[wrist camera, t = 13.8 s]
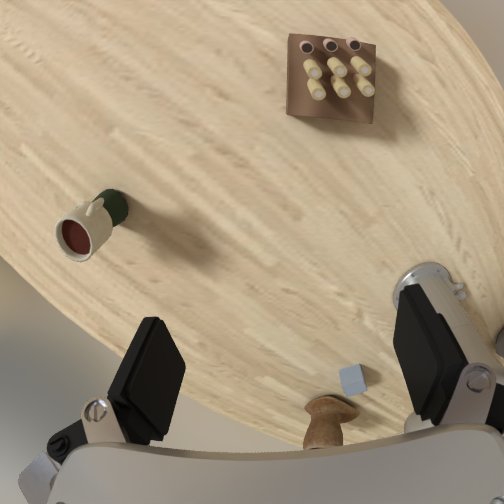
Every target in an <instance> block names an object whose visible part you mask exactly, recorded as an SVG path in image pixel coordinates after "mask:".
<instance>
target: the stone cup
mask: <svg viewBox="0 0 504 504" xmlns="http://www.w3.org/2000/svg"><path fill="white" fill-rule="evenodd" d="M305 410H306V411H307V412H308V413H309V414H310V415H311V422H310V425H309V427H308V429H307V432H306V435H305V438H304V442H303V448H304V450H311V449H321V448H329V447H337V446H343V433H342V430H341V426H340V423H346V422H349V421H351V420H353V419H355V418H356V417H357V416H358V415H359V413H360V412H359V411H358V410H356V409H355V408H353V407H351V406H350V405H348V404H346V403H345V402H343V401H341V400H339V399H337V398H335V397H331V396H323V397H320V398H317V399H314V400H312V401H311V402H309V403H308V404H307V405H306V406H305Z"/></svg>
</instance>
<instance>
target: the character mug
mask: <svg viewBox="0 0 504 504" xmlns="http://www.w3.org/2000/svg"><path fill="white" fill-rule="evenodd" d="M127 215H128V205H127V203H126V200H125V199H124V197H123V196H122V195H121V194H120V193H119V192H117V191H116V190H114V189H106V190H105V191H103V192H102V193H100V194H99V195H98V196H97V197H96V198H95V199H94V200H93V201H92V202H87V201H85V202H82V203H81V204H79V205H78V206H77V207H76V208H75V209H73V210H71V211H69V212H67V213H66V214H65V215H64V216H63V217H61V218H60V219H59V220H58V221H57V223H56V225H55V229H54V234H55V239H56V242H57V244H58V246H59V248H60V250H61V251H62V252H63V253H64V254H65V255H66V257H68V258H70V259H71V260H73V261H77V262H83V261H87V260H88V259H89V258H90V257H91V256H92V255H93V254H94V253H95V252H96V251H97V250H98V249H99V248H100V247H101V246H102V245H103V244H104V243H105V242H106V241H107V239H108V238H109V237H110V236H111V233H112V229H113V227H115V226H117V225H118V224H120V223H121V222H122V221H124V220H125V218H126V216H127Z"/></svg>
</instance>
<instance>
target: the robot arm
mask: <svg viewBox="0 0 504 504" xmlns="http://www.w3.org/2000/svg"><path fill="white" fill-rule="evenodd" d="M461 289H463V283H462V282H460V283H456V284H453V283H451V282H450V276H449V274H448V272H447V270H446V269H445V268H444V267H443V266H442V265H440V264H438V263H434V262H428V263H423V264H420V265H417V266H415V267H414V268H412V269H410V270H409V271H408V272H407V273H406V274H405V275H404V276H403V277H402V278H401V279H400V280H399V282H398V284H397V285H396V287H395V290H394V294H393V302H394V306H395V308H396V310H397V318H396V325H395V331H394V338H393V345H394V349H395V352H396V355H397V357H398V360H399V363H400V366H401V369H402V372H403V375H404V378H405V381H406V384H407V388H408V391H409V394H410V397H411V401H412V404H413V407H414V412H413V413H411V414H410V415H409V416H408V418H407V419H406V421H405V424H404V434H401V435H397V436H392V437H387V438H382V439H377V440H372V441H367V442H362V443H356V444H350V445H344V446H337V447H329V448H321V449H311V450H301V451H288V452H267V453H265V452H264V453H228V452H205V451H190V450H179V449H170V448H162V447H153V446H150V445H149V444H150V440H155V441H163V437H164V435H166V434H167V433H168V430H169V426H170V423H171V419H172V415H173V412H174V408H175V404H176V401H177V397H178V394H179V390H180V387H181V383H182V380H183V376H184V373H185V369H186V366H185V362H184V360H183V358H182V356H181V354H180V352H179V350H178V349H177V347H176V345H175V343H174V341H173V339H172V337H171V335H170V333H169V331H168V329H167V327H166V325H165V323H164V321H163V320H160V318H159V317H145V318H144V319H143V320H142V322H141V324H140V326H139V328H138V330H137V332H136V334H135V336H134V338H133V340H132V342H131V344H130V346H129V348H128V350H127V352H126V354H125V356H124V358H123V361H122V363H121V365H120V367H119V369H118V371H117V373H116V375H115V378H114V380H113V382H112V384H111V386H110V389H109V391H108V396H107V398H105V397H101V396H100V397H95V398H92V399H90V400H89V401H88V402H87V403H86V404H85V405H84V407H83V408H82V412H81V418H82V419H80V420H79V421H77V422H75V423H73V424H72V425H70V426H68V427H66V428H65V429H63V430H61V431H59V432H58V433H56V434H55V435H53V436H52V437H51V438H50V439H49V442H48V444H47V452H45V451H43V452H42V453H41V454H40V455H39V456H38V457H37V458H36V459H35V460H34V461H33V462H32V463H31V464H30V465H29V466H27V468H25V469H24V470H23V471H22V472H21V474H20V476H19V479H18V484H19V487H20V489H21V491H22V493H23V495H24V496H25V498H26V500H27V502H28V503H29V504H504V367H503V366H502V365H501V364H500V362H499V361H498V360H497V359H496V357H495V356H494V355H493V353H492V352H491V351H490V349H489V347H488V346H487V344H486V343H485V341H484V340H483V338H482V337H481V335H480V333H479V332H478V330H477V328H476V327H475V325H474V324H473V322H472V321H471V319H470V317H469V316H468V314H467V313H466V311H465V310H464V308H463V307H462V305H461V304H460V302H459V301H461V300H465V299H466V292H465V291H464V290H462V291H458V292H456V293H454V291H455V290H461Z"/></svg>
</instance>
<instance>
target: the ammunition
mask: <svg viewBox="0 0 504 504" xmlns="http://www.w3.org/2000/svg"><path fill="white" fill-rule="evenodd" d="M346 44H347V46H348V47H349V48H350V49H351V50H354V51H357V50H359V49H360V48H361V43H360V42H359V41H358V40H356V39H355V38H347V39H346ZM323 45H324V47H325V48H326V49H327V50H328V51H330V52H334V51H336V50H337V48H338V45H337V43H336V42H335V41H334V40H332V39H329V38H327V39H325V40H324V41H323ZM299 47H300V49H301V50H302V52H303V53H306V54H309V53H311V52H312V51H313V49H314V47H313V45H312V44H311V43H310V42H309V41H302V42H301V43H300V45H299ZM350 63H351V65H352V66H353V67H354V68H355V69H356V71H357V72H358V73H359V74H355V75H354V76H353V80H354V83H355V85H356V86H357V87H358V89H359V90H360V91H361V93H362V94H363V95H364V96H366V97H370V96H372V95H373V94H374V93H375V88H374V86H373V85H372V84H371V83H370V82H369V81H368V80H367V79H366V78H365V77H364V76H368V75H370V74H371V71H372V69H371V66H370V65H368V64H367V63H366V62H365V61H364V60H363V59H362V58H360V57H358V56H355V57H353V58H352V59H351V61H350ZM327 65H328V66H329V68H330V69H331V71H332V72H333V73H334V75H333V76H332V77H331V85H332V86H333V88H334V90H335V91H336V93H337V95H338V96H339V97H341V98H347V97H349V96H350V94H351V89H350V88H349V86H348V85H347V84H346V83H345V81H344V80H343V79H342V78H341V77H344V76H346V74H347V68H346V67H345V66H344V65H343V63H342V62H341V61H340V60H339V59H337V58H335V57H332V58H330V59H329V60H328V61H327ZM303 66H304V69H305V71H306V73H307V75H308V76H309V78H310V79H309V80H308V82H307V86H308V89H309V91H310V93H311V96H312V97H313V99H315V100H322V99H324V98H325V96H326V92H325V90H324V88H323V86H322V85H321V83H320V81H319V80H318V79H319V78H320V77H321V76H322V70H321V69H320V67H319V66H318V65H317V63H316V62H315V61H314V60H312V59H308V60H306V61H305V62H304V64H303Z"/></svg>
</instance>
